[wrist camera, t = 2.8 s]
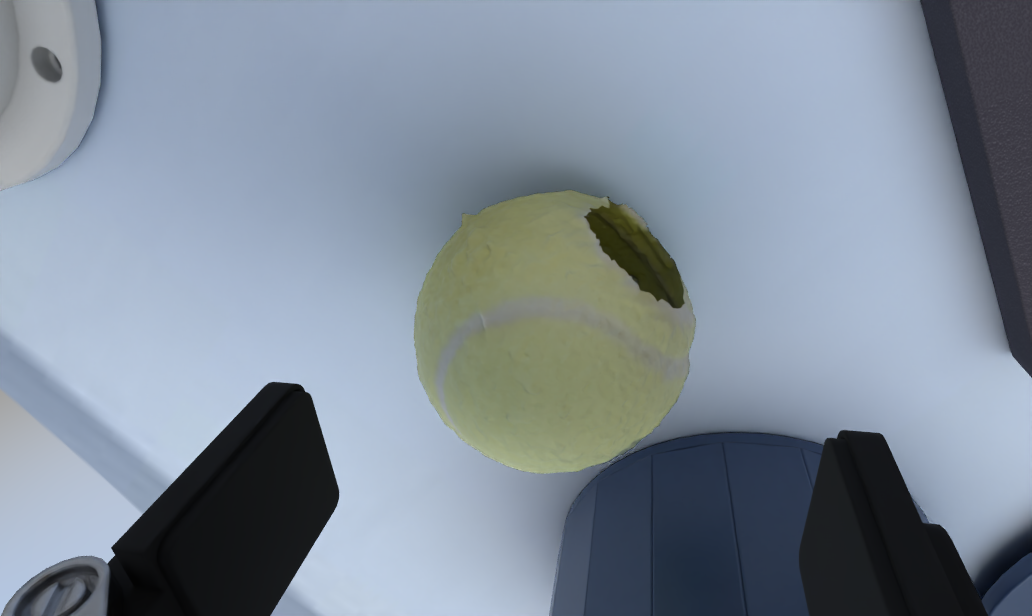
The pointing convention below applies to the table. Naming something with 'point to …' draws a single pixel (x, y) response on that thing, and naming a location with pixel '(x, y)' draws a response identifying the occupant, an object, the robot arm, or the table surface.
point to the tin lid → (1011, 591)
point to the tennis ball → (553, 331)
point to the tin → (692, 530)
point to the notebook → (994, 138)
